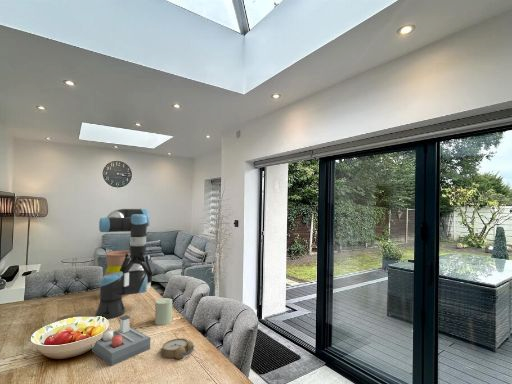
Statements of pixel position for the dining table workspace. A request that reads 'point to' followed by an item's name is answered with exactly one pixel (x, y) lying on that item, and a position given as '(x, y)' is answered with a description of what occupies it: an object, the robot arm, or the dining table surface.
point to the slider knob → (124, 324)
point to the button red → (116, 341)
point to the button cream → (107, 335)
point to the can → (163, 311)
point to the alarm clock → (177, 348)
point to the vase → (115, 262)
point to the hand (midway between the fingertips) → (136, 287)
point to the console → (122, 346)
